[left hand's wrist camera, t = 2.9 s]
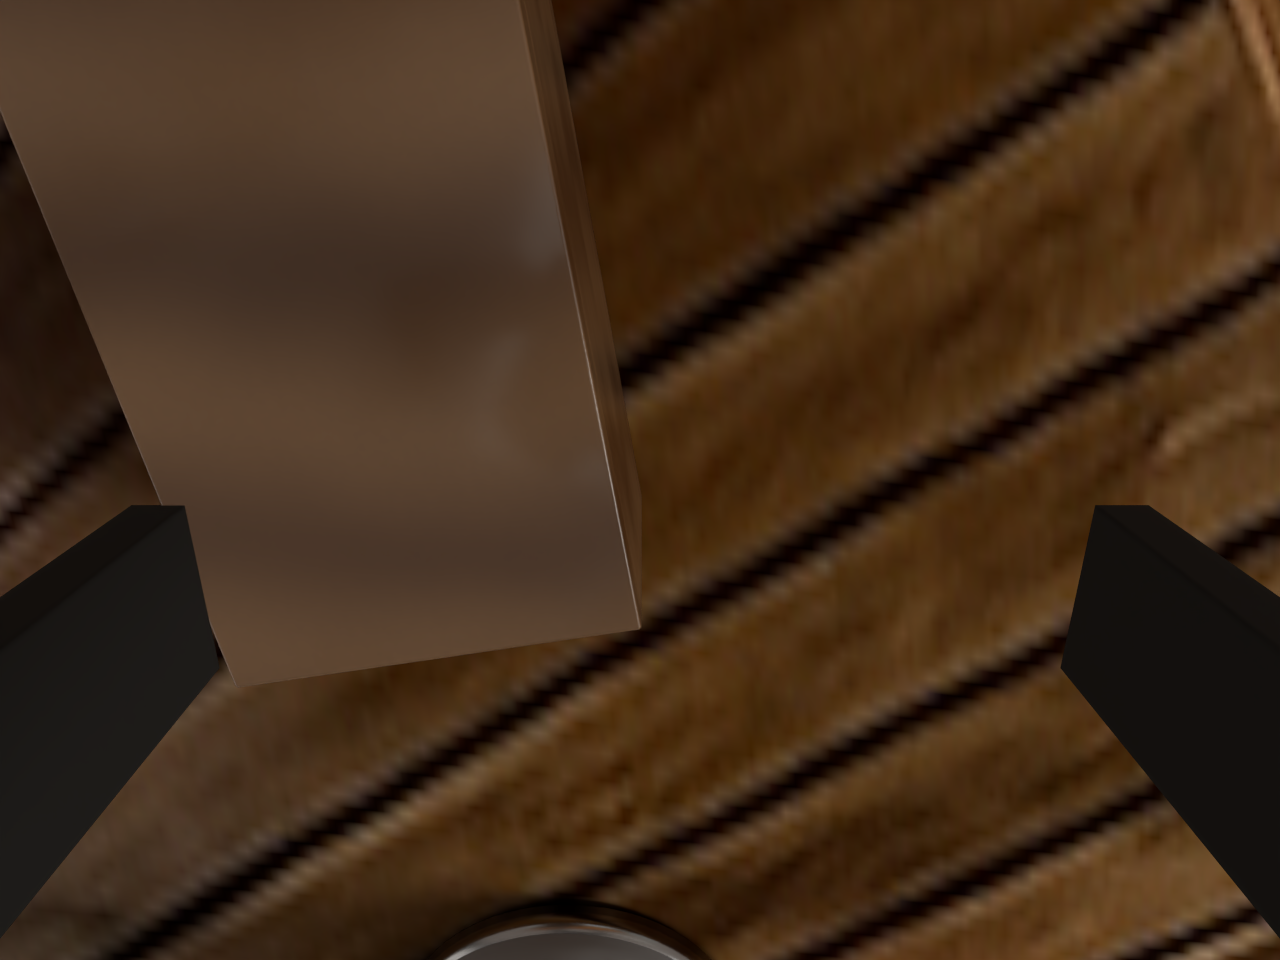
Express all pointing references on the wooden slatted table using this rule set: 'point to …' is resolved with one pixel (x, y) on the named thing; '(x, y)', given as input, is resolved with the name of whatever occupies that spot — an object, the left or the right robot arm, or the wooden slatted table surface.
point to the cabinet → (344, 312)
